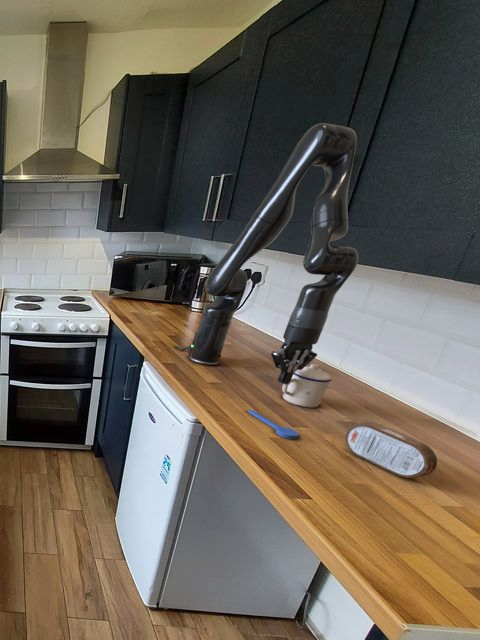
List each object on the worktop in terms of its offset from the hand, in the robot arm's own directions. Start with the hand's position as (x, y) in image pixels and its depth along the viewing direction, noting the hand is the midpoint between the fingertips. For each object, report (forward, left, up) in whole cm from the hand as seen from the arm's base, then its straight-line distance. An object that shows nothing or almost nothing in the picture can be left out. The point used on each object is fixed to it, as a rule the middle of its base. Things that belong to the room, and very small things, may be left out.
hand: (282, 383), depth 114 cm
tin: (+31, -3, -6) cm, 31 cm away
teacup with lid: (0, +7, -6) cm, 9 cm away
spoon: (+13, -13, -6) cm, 19 cm away
